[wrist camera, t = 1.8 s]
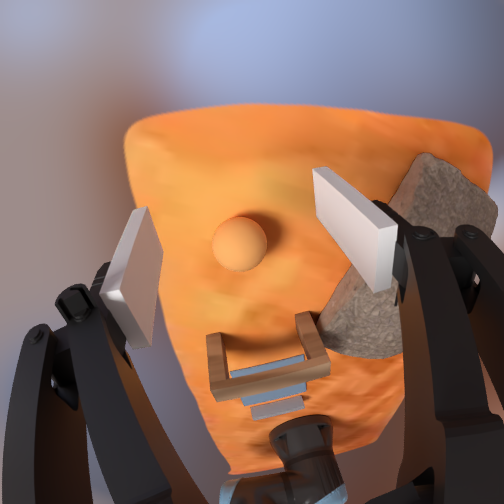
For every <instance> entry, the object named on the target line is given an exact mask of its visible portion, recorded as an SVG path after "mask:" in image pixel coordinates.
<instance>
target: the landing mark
mask: <svg viewBox="0 0 504 504" xmlns="http://www.w3.org/2000/svg"><path fill="white" fill-rule="evenodd" d="M302 361H304V354H302V355H298V356H295V357H291V358H287V359H283V360H279V361H275V362H271V363H267V364H263V365H258V366H254V367H249V368H245V369H240V370H235V371H230V374H231V376H232V378H235V377H240V376H245V375H249V374H254V373H258V372H263V371H267V370H271V369H275V368H279V367H283V366H287V365H291V364H295V363H299V362H302ZM302 392H306V382H305V383H301V384H297V385H293V386H290V387H286V388H282V389H278V390H273V391H269V392H265V393H260V394H256V395H251V396H247V397H242V398H241V400H242V402H243V405H244V406H247V405H252V404H257V403H261V402H266V401H270V400H274V399H279V398H283V397H287V396H291V395H294V394H298V393H302Z"/></svg>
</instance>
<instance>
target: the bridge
mask: <svg viewBox="0 0 504 504" xmlns="http://www.w3.org/2000/svg"><path fill="white" fill-rule="evenodd" d="M295 321H296V329H297V332H298V335H299V338H300V340H301V343H302V346H303V348H304V351H305V354H306V357H307V359H308V360H306V361H302V362H299V363H295V364H291V365H287V366H283V367H279V368H275V369H271V370H267V371H263V372H258V373H254V374H249V375H245V376H240V377H235V378H230V379H229V372H228V364H227V357H226V350H225V344H224V342H223V339H222V336H221V334H220V332H219V333H214V334H209V335H206V343H207V357H208V369H209V381H210V391H211V393H212V394H213V396H214V398H215V400H216V401H217V402H221V401H226V400H232V399H237V398H242V397H247V396H251V395H256V394H260V393H265V392H269V391H273V390H278V389H282V388H286V387H290V386H293V385H297V384H301V383H305V382H308V381H312V380H315V379H319V378H322V377H325V376H329V375H330V366H331V361H330V359H329V357H328V354H327V352H326V350H325V347H324V345H323V343H322V340H321V338H320V336H319V333H318V331H317V329H316V327H315V324H314V322H313V320H312V317H311V315H310V313H309V311H307V312H303V313H299V314H295Z"/></svg>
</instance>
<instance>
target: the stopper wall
mask: <svg viewBox="0 0 504 504" xmlns="http://www.w3.org/2000/svg"><path fill="white" fill-rule="evenodd" d="M304 408H305V406H304V403H303V399H302V396H301V395H300V396H297V397H293V398H289V399H285V400H281V401H277V402H273V403H268V404H264V405H259V406H255V407H251V413H252V418H253V420H259V419H264V418H268V417H272V416H277V415H281V414H285V413H289V412H293V411H297V410H300V409H304Z"/></svg>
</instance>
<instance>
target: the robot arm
mask: <svg viewBox="0 0 504 504" xmlns="http://www.w3.org/2000/svg"><path fill="white" fill-rule="evenodd" d="M312 170H313V181H314V192H315V204H316V217H317V218H318V219H319V220H320V222H321V223H322V224H323V226H324V227H325V228H326V229H327V231H328V232H329V233H330V235H331V236H332V237H333V239H334V240H335V241H336V243H337V244H338V245H339V246H340V248H341V249H342V250H343V252H344V253H345V254H346V256H347V257H348V259H349V260H350V261H351V263H352V264H353V265H354V267H355V268H356V269H357V271H358V272H359V274H360V275H361V276H362V278H363V279H364V280H365V282H366V283H367V285H368V286H369V288H370V289H371V290H372V292H373V293H376V292H379V291H382V290H386V289H389V288H391V282H392V275H393V276H394V278H395V279H396V280H397V281H398V287H397V292H396V298H395V304H394V306H397V303H398V305H399V314H400V323H401V334H402V346H403V361H404V384H405V434H404V435H405V436H404V454H403V460H402V463H401V466H400V469H399V473H398V478H397V484H396V489H395V490H393V491H390V492H388V493H386V494H383V495H381V496H378V497H376V498H374V499H371V500H369V501H368V502H366V503H365V504H504V424H503V420H502V419H501V417H500V416H499V415H497V414H492V413H491V412H490V410H489V407H488V401H487V395H486V389H485V383H484V378H483V373H482V368H481V363H480V359H479V355H480V357H481V359H482V361H483V364H484V366H485V368H486V370H487V372H488V374H489V376H490V378H491V381H492V383H493V385H494V388H495V390H496V392H497V395H498V397H499V400H500V402H501V405H502V407H503V410H504V254H503V252H502V251H501V250H500V249H499V248H498V247H497V246H496V245H495V243H494V242H493V241H492V240H491V239H490V238H489V237H488V236H487V235H486V234H485V233H484V232H483V231H482V230H480V229H479V228H477V227H475V226H474V225H470V224H462V225H459V226H457V227H456V228H455V233H454V237H439V235H438V234H437V233H436V231H434V230H433V229H431V228H428V227H425V226H413V225H411V224H410V223H409V222H408V221H407V220H405V219H404V218H403V217H402V216H401V215H398V213H397V212H396V211H395V210H393V209H392V208H391V207H390V206H388V205H387V204H386V203H383V202H381V201H378V200H373V201H370V200H369V199H367V198H366V197H365V196H364V195H362V194H361V193H360V192H359V191H357V190H356V189H355V188H354V187H352V186H351V185H350V184H349V183H347V182H346V181H345V180H344V179H342V178H341V177H340V176H338V175H337V174H336V173H334V172H333V171H332V170H331V169H329V168H328V167H327V166H325V167H319V168H313V169H312ZM162 258H163V249H162V246H161V243H160V241H159V238H158V235H157V232H156V230H155V227H154V224H153V221H152V218H151V215H150V212H149V209H148V207H147V206H145V207H142V208H138V209H135V210H133V212H132V214H131V217H130V218H129V221H128V223H127V225H126V227H125V230H124V232H123V234H122V237H121V239H120V241H119V244H118V246H117V249H116V251H115V254H114V256H113V259H112V261H111V262H107V263H104V264H103V265H102V267H101V268H100V269H99V270H98V271H97V274H96V276H95V280H94V281H93V283H92V287H91V288H90V291H89V290H88V288H87V287H86V286H85V285H84V284H75V285H73V286H70V287H68V288H67V289H65V290H64V291H63V292H62V293H61V294H60V295H59V296H58V298H57V299H56V302H55V306H56V307H57V309H58V310H59V312H60V313H61V315H62V316H63V318H64V319H65V321H66V322H67V325H66V326H64V327H62V328H60V329H58V330H56V331H54V332H52V330H51V329H50V327H49V326H48V325H47V324H39V325H37V326H35V327H33V328H32V329H30V330H29V332H28V333H27V335H26V336H25V338H24V341H23V345H22V348H21V352H20V356H19V360H18V364H17V368H16V372H15V377H14V382H13V387H12V393H11V397H10V403H9V410H8V416H7V423H6V431H5V441H4V452H3V471H2V501H3V502H2V503H3V504H93V499H92V491H91V484H90V475H89V464H88V451H87V435H86V434H87V433H86V424H87V428H88V431H89V435H90V438H91V441H92V444H93V448H94V451H95V454H96V456H97V460H98V463H99V465H100V468H101V471H102V474H103V476H104V479H105V481H106V484H107V486H108V489H109V492H110V494H111V496H112V499H113V501H114V503H115V504H209V503H208V502H207V500H206V499H205V497H204V496H203V495H202V493H201V491H200V490H199V488H198V487H197V485H196V484H195V482H194V481H193V479H192V478H191V476H190V474H189V473H188V471H187V469H186V468H185V466H184V464H183V463H182V461H181V460H180V458H179V456H178V454H177V452H176V451H175V449H174V447H173V445H172V444H171V442H170V440H169V438H168V436H167V434H166V433H165V431H164V429H163V427H162V425H161V424H160V421H159V419H158V417H157V415H156V413H155V411H154V409H153V407H152V405H151V403H150V401H149V399H148V397H147V395H146V393H145V390H144V388H143V386H142V384H141V381H140V379H139V377H138V375H137V372H136V370H135V368H134V365H133V363H132V361H131V358H130V356H129V354H128V353H127V352H126V350H125V344H126V340H127V341H128V343H129V344H130V346H131V347H132V349H138V348H144V347H150V346H151V342H152V333H153V323H154V314H155V307H156V299H157V292H158V285H159V278H160V271H161V265H162ZM476 274H477V275H478V277H479V279H480V281H479V284H478V285H477V284H476V283H475V281H474V279H475V276H476ZM478 353H479V355H478ZM51 379H52V380H53V381H54V386H53V387H52V385H51ZM269 439H270V443H271V446H272V447H273V449H274V450H275V452H276V453H277V455H278V456H279V458H280V459H281V461H282V462H283V465H284V469H285V472H280V473H275V474H269V475H263V476H257V477H250V478H243V477H242V478H239V479H235V480H228V481H226V482H225V483H224V484H223V485H222V487H221V491H220V504H344V503H345V502H346V500H347V492H346V489H345V483H344V481H343V479H342V476H341V473H340V470H339V467H338V464H337V461H336V458H335V455H334V452H333V449H332V440H333V426H332V423H331V420H330V418H329V417H327V416H323V415H312V416H305V417H301V418H297V419H294V420H291V421H288V422H286V423H283V424H281V425H279V426H278V427H276V428H275V429H273V430H272V431H271V433H270V434H269Z"/></svg>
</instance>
